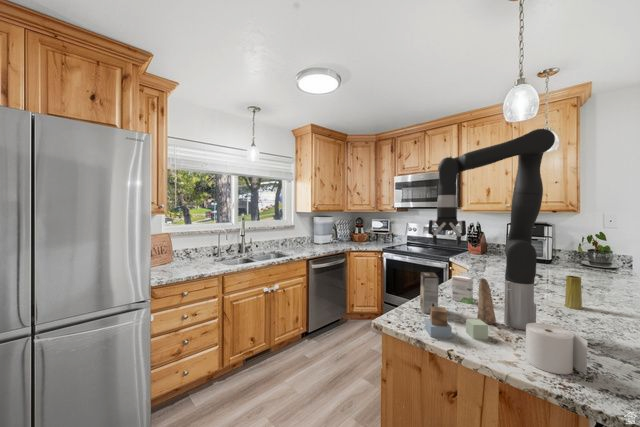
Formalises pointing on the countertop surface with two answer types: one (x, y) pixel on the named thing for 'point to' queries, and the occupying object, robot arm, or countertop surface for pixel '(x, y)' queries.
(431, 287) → the coffee box
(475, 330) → the sage cube
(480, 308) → the tan long rounded piece
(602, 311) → the countertop surface
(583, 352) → the toilet tissue
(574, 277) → the vase
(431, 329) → the base block
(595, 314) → the countertop surface
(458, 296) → the ink box
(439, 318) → the walnut cube
